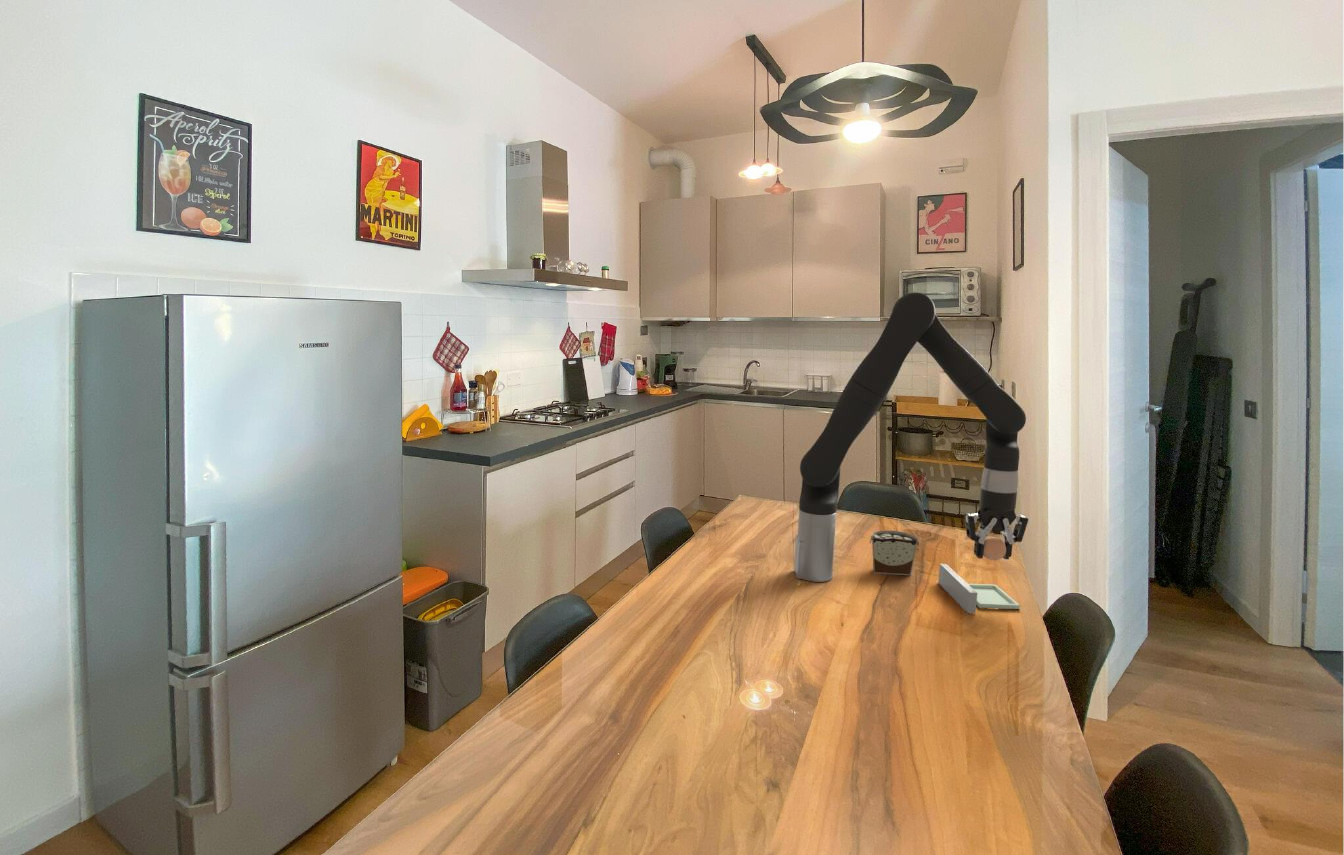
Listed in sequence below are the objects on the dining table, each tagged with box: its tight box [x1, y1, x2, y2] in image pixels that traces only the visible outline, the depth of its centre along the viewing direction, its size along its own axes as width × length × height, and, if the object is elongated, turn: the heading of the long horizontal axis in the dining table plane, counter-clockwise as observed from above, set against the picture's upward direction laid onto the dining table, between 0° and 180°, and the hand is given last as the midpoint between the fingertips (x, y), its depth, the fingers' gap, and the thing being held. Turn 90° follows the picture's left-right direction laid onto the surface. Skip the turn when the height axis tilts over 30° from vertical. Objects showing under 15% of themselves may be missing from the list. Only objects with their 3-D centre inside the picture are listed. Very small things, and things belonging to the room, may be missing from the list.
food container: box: [869, 529, 920, 576], centre depth 171 cm, size 12×6×10 cm, turn 84°
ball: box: [983, 536, 1006, 562], centre depth 153 cm, size 6×6×6 cm
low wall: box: [937, 563, 977, 614], centre depth 155 cm, size 2×18×5 cm, turn 179°
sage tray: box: [967, 583, 1021, 610], centre depth 155 cm, size 9×12×1 cm
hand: (992, 557), depth 153 cm, fingers closed on ball, 5 cm apart
